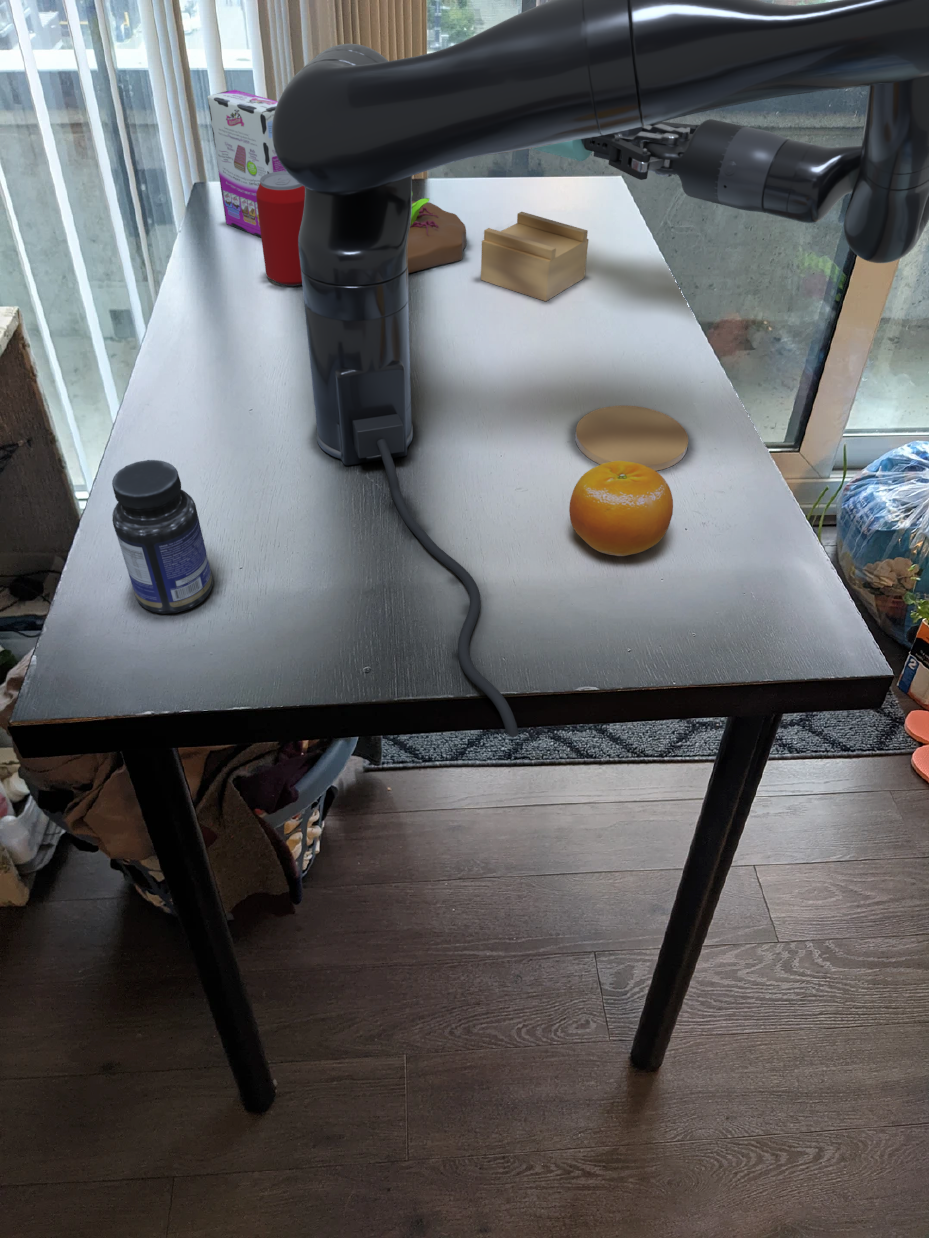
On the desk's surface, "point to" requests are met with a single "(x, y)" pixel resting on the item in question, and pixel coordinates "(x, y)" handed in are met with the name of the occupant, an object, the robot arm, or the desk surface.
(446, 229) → the plant
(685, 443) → the coaster
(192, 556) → the pill bottle
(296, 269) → the beverage can
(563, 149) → the teal cylinder
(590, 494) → the fruit
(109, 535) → the desk surface
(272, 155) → the candy bar box
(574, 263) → the cradle
